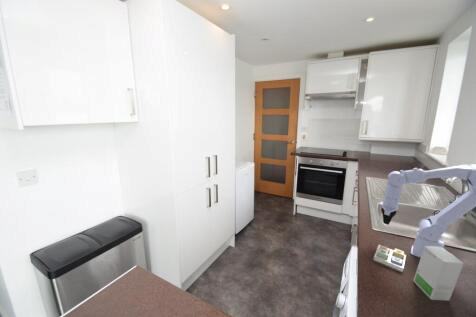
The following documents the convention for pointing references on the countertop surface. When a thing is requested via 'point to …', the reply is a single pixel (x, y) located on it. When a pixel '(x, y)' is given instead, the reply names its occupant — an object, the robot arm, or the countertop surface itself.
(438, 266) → the skincare box
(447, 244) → the countertop surface
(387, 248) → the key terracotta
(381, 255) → the key sage
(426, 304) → the countertop surface
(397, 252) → the key mustard
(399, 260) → the key slate
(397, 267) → the keypad board
